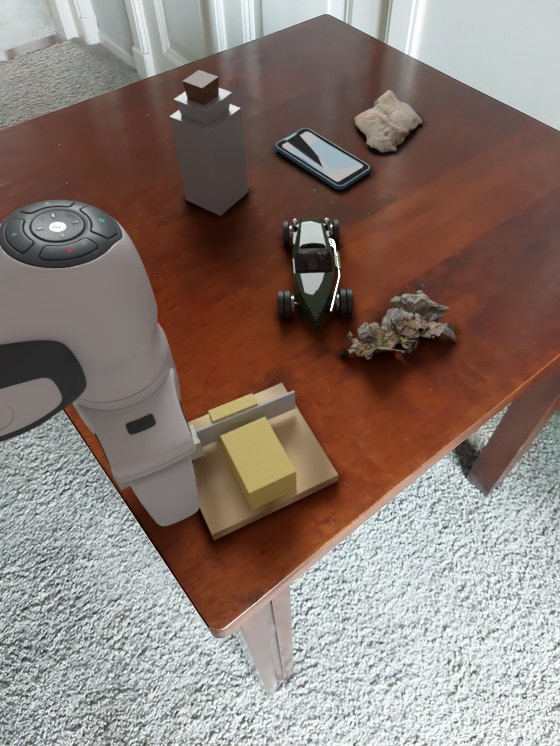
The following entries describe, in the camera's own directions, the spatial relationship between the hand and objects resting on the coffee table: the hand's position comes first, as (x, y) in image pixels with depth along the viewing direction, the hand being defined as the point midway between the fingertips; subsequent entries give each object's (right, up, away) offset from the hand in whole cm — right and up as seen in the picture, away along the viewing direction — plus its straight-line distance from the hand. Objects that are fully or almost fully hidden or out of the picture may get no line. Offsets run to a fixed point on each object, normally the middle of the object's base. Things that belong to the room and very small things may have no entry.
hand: (156, 456), depth 60 cm
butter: (+10, -2, +1) cm, 11 cm away
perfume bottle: (+3, +35, +30) cm, 46 cm away
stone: (+30, +49, +39) cm, 70 cm away
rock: (+27, +13, +13) cm, 33 cm away
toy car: (+17, +21, +19) cm, 33 cm away
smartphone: (+19, +42, +34) cm, 57 cm away
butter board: (+9, -1, +3) cm, 10 cm away
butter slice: (+8, +3, +4) cm, 9 cm away
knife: (+5, +1, +2) cm, 6 cm away
